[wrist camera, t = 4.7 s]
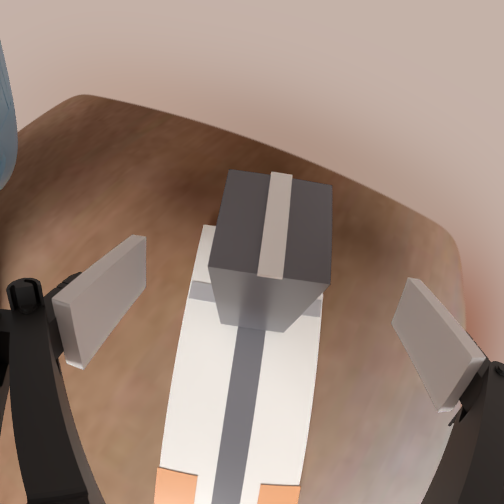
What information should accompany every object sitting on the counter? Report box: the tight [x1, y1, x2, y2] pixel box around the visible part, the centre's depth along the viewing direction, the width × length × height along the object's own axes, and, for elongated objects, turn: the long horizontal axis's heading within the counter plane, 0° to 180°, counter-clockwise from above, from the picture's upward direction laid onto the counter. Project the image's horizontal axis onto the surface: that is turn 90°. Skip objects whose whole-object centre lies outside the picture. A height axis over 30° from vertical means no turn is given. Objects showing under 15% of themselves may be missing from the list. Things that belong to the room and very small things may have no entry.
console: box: [154, 225, 323, 504], centre depth 18 cm, size 24×9×2 cm, turn 172°
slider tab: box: [208, 169, 332, 333], centre depth 15 cm, size 4×4×10 cm
